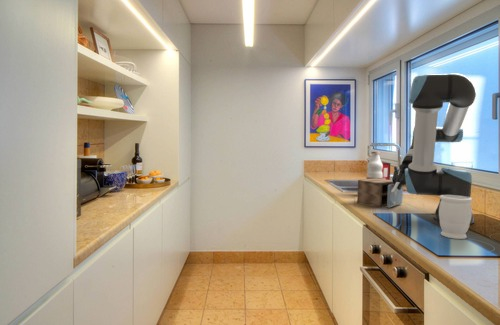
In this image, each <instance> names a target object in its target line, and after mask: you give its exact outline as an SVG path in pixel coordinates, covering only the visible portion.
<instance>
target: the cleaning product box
mask: <svg viewBox="0 0 500 325" xmlns="http://www.w3.org/2000/svg"><path fill="white" fill-rule="evenodd" d="M369 161H370V160H369ZM369 161H368V162H367V164H368V163H369ZM381 162H382V164H383V168H382V173H383V179H387V180H391V173H390V172H391V162H390V163H389V162H387V161H381Z"/></svg>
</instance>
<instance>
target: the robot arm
mask: <svg viewBox="0 0 500 325" xmlns="http://www.w3.org/2000/svg"><path fill="white" fill-rule="evenodd" d="M476 96H477V90H476V87H475V84H474V83H473V81H472V80H471V79H470V78H469V77H467V76H465V75H463V74H461V73H440V74H437V73H436V74H435V73H434V74H420V75H417V76H415V77H414V78H413V79H412V83H411V86H410V92H409V98H408V102H409V104H411V105H412V106H411V107H412V109H413V110H414V111H415V118H414V128H413V131H412V141H411V145H410V147H409V149H408V151H407V152H406V154H405V156H404V158H403V159H402V162H401V164H400V165H399V166H397V167H396V166H394V167H393V168H394V172H393V174H392V175H393V176H392V179H391V180H392V181H393V183H394V185H393V189H392V191H391V192H392V194H393V195H396V194H397V192H398V190H400V189H401V187H402V186H403V187H404V185H405V188H406V192H407V193H408V194H411V195H417V196H418V195H422V196H435V197H436V196H437V197H440V195H459V196H466V197H470V198H472V197H471V195H472V193H471V192H472V183H473V181H472V178H473V177H472V173H471V172H470V171H468V170H466V169H465V170H464V169H460V168H459V169H458V168H452V167H445V166H443V167H441V170H440V169H438V167H437V165H436V164H434V160H435V159H434V158H435V151H436V150H435V149H436V143H460V142H461V141H463V137H464V128H463V127H462V126H463V123H464V120H465V117H466V115H467V112H468V109H469V107H470V106H472V105H473V104H474V102H475V99H476ZM444 103H449V104H448V107H447V110H446V114H445V118H444V121H443V124H442V126H438V119H439V118H438V117H439V116H438V115H439V111H440V110H441V109H442V108H443V107H444ZM440 202H441V199H440V198H439V202H438V204H437V207H436V209H435V211H434V219H435V220H438V221H440V219H439V206H440ZM474 217H475V216H474V213H473V212H472V217H471V221H470V225H471V224H473V223H474V222H475V218H474Z"/></svg>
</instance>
